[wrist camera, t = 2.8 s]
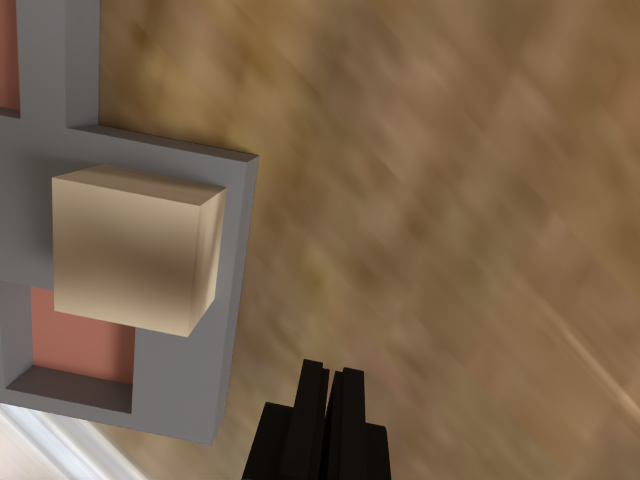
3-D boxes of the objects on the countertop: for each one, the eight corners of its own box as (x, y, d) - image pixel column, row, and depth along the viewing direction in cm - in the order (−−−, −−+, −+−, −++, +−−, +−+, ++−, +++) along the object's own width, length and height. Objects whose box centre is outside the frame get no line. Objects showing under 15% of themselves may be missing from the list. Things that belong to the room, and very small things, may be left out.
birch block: (104, 163, 19) (51, 177, 16) (226, 187, 19) (199, 206, 16) (102, 277, 21) (54, 310, 17) (214, 299, 21) (187, 337, 17)
